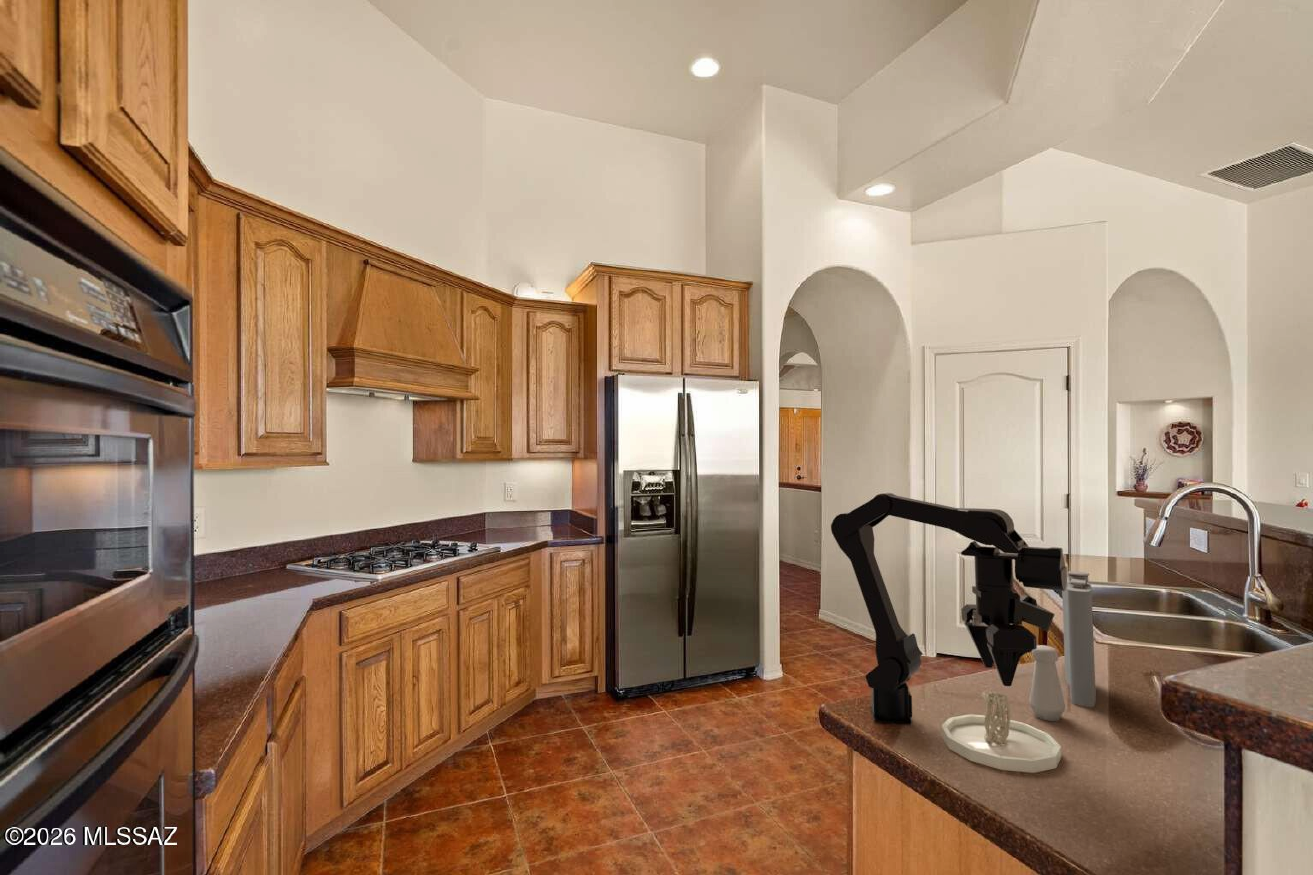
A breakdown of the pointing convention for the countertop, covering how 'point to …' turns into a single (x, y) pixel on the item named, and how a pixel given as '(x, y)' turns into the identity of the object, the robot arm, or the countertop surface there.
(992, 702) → the bracelet
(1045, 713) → the salt shaker
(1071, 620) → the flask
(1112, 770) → the countertop surface
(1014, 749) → the ring dish
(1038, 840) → the countertop surface
